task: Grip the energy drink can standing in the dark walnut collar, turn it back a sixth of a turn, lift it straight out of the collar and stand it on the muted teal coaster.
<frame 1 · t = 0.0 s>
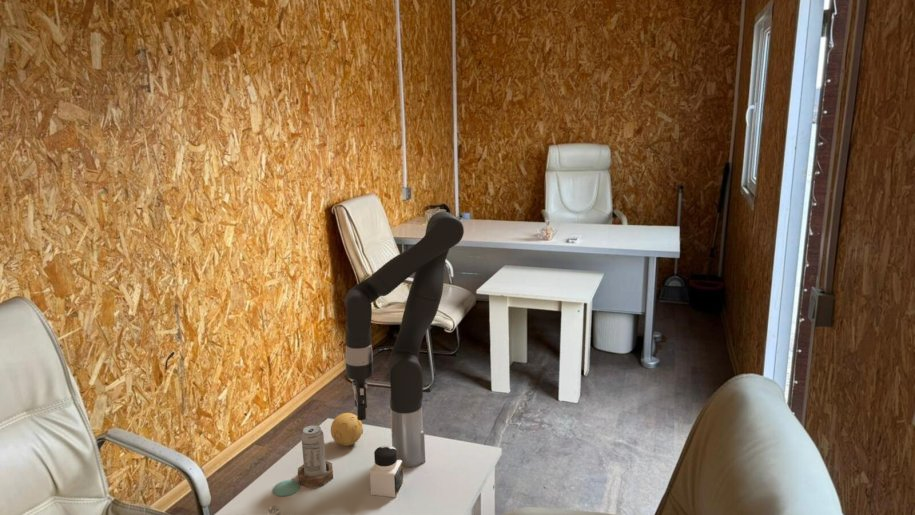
hand: (360, 412, 175), 17 cm above the table, tool pointing down, fingers open, 8 cm apart
collar: (315, 477, 174), on the table
stress ball: (347, 444, 192), on the table
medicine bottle: (387, 489, 168), on the table
coaster: (286, 488, 169), on the table
energy drink can: (315, 477, 174), resting in collar
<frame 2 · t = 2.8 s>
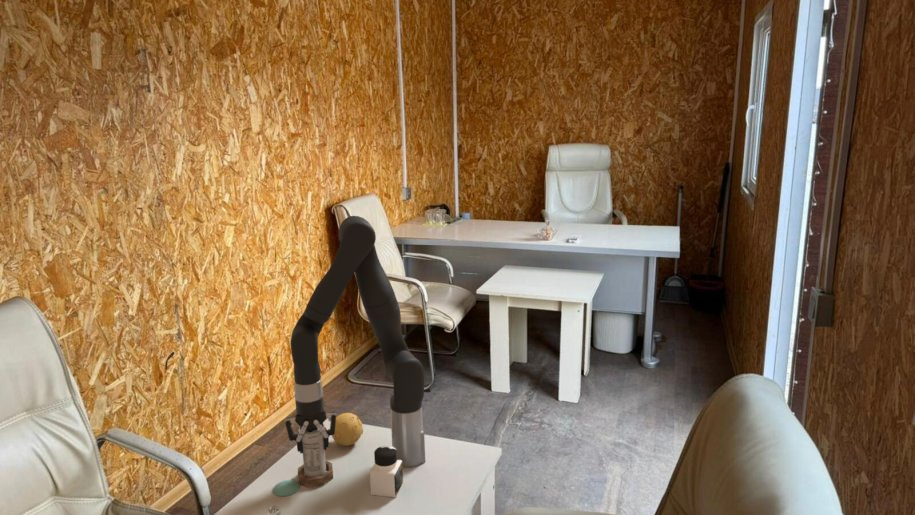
hand: (313, 450, 172), 9 cm above the table, tool pointing down, fingers closed on energy drink can, 6 cm apart
energy drink can: (315, 477, 174), resting in collar, touching gripper
everything else where it was.
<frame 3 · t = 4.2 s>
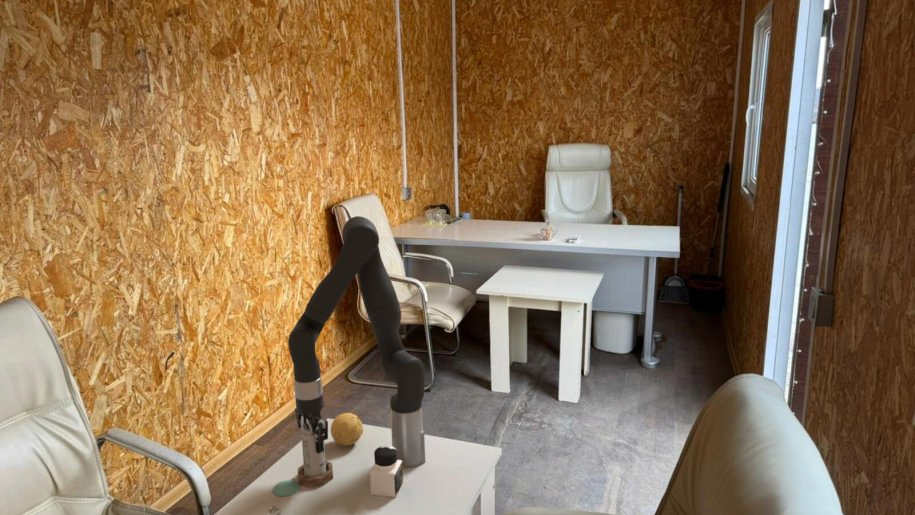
hand: (313, 447, 172), 9 cm above the table, tool pointing down, fingers closed on energy drink can, 6 cm apart
energy drink can: (315, 475, 174), resting in collar, touching gripper
everything else where it was.
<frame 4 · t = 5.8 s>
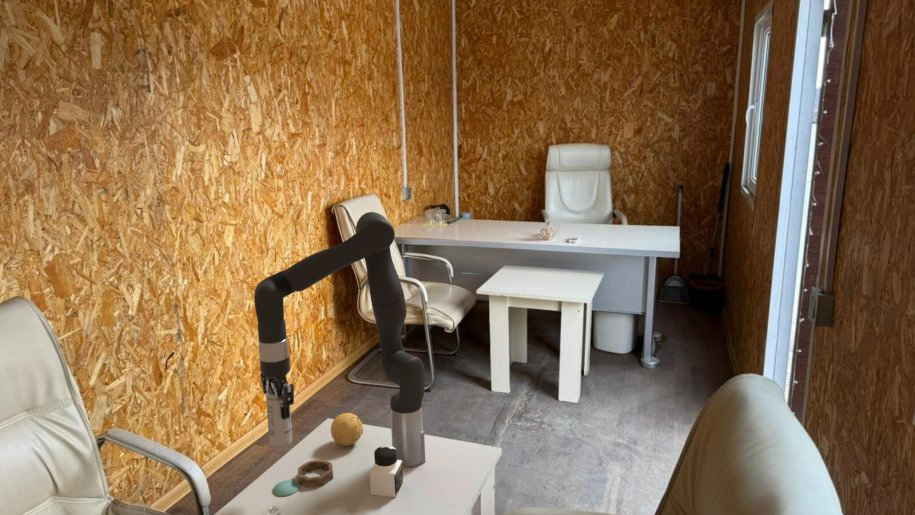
hand: (279, 413, 164), 23 cm above the table, tool pointing down, fingers closed on energy drink can, 6 cm apart
energy drink can: (281, 444, 165), point 14 cm above the table, touching gripper
everything else where it was.
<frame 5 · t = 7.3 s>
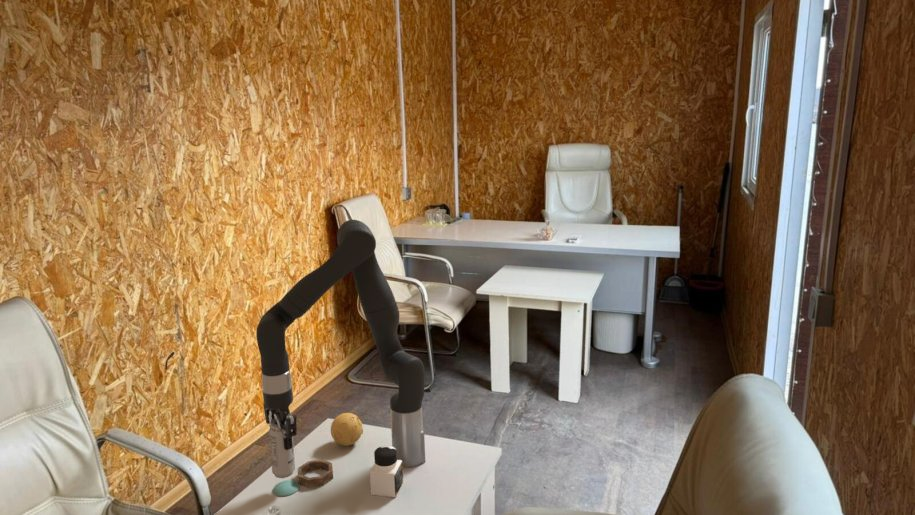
hand: (282, 444, 166), 14 cm above the table, tool pointing down, fingers closed on energy drink can, 6 cm apart
energy drink can: (283, 473, 167), point 5 cm above the table, touching gripper
everything else where it was.
when the fingers open (10 cm above the table, at t = 8.6 s): energy drink can stays where it is, resting on coaster.
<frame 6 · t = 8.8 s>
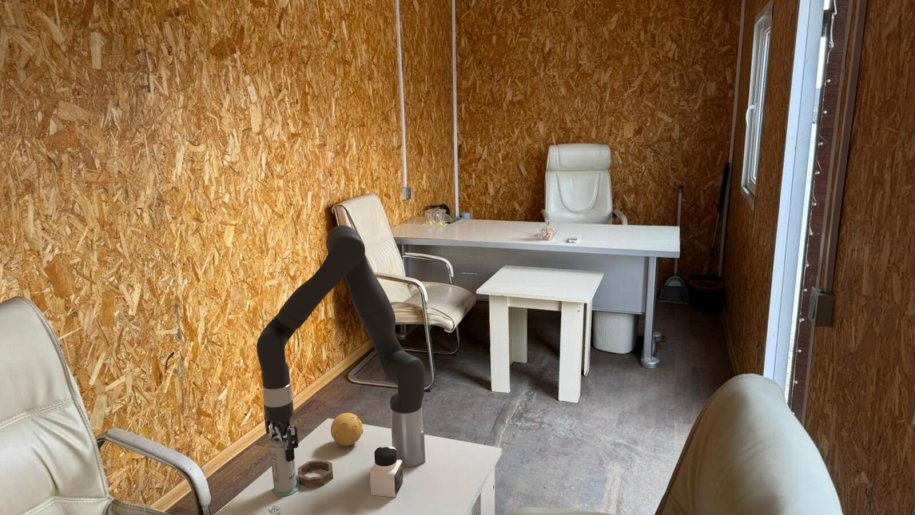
hand: (283, 454, 167), 10 cm above the table, tool pointing down, fingers open, 7 cm apart
energy drink can: (285, 488, 169), resting on coaster
everything else where it was.
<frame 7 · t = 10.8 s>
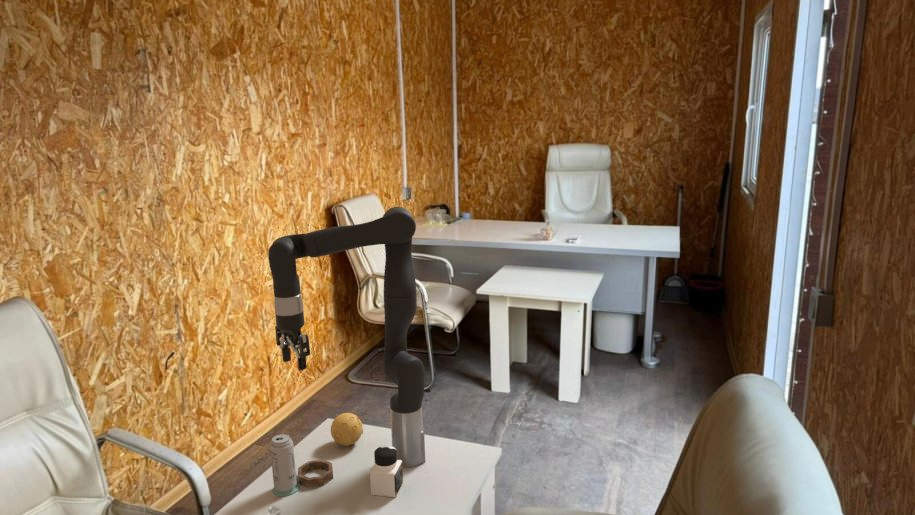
hand: (294, 365, 171), 32 cm above the table, tool pointing down, fingers open, 8 cm apart
nothing on the table moved.
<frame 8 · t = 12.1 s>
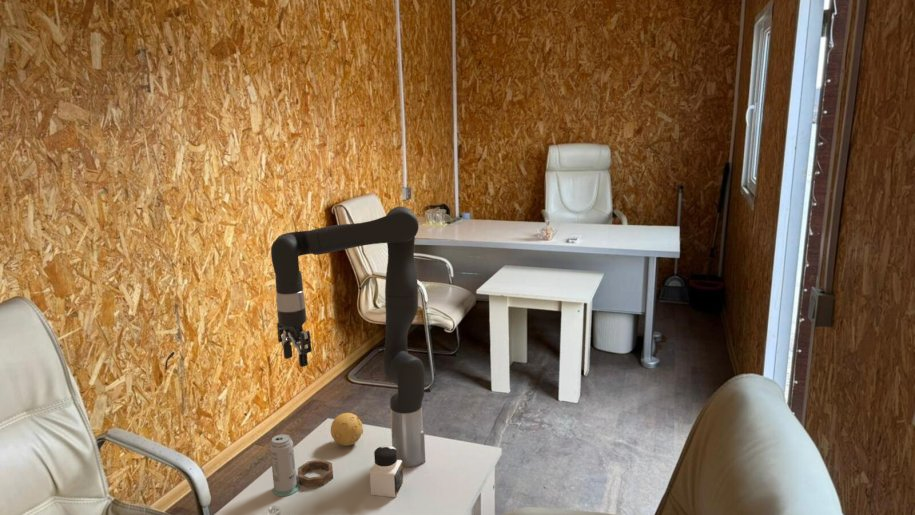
hand: (295, 361, 172), 33 cm above the table, tool pointing down, fingers open, 8 cm apart
nothing on the table moved.
at the end: energy drink can 0.3 cm from the coaster (horizontally); energy drink can tilted 1°; energy drink can resting on coaster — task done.
